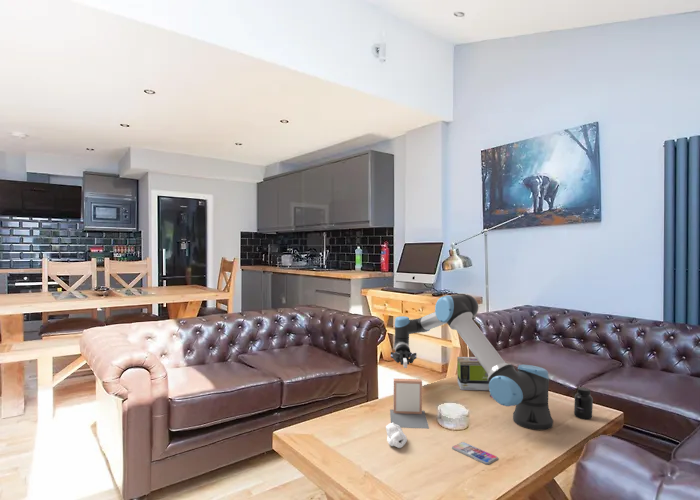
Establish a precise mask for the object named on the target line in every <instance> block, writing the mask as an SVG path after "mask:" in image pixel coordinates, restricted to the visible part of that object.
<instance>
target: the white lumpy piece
mask: <svg viewBox="0 0 700 500" xmlns="http://www.w3.org/2000/svg"><path fill="white" fill-rule="evenodd" d="M385 430H386V431H385V432H386V435H387V437H386V442H387V443H388V445H389V446H390V447H396V448H398V449H401V448H403V447H404V446H405V445H406V443H407V442H408V438H407V434H405V433H404V432H403V428H401V427H400V426H399V425H396V424H394V423H393V422H392V423H391V422H390V423H388V424H387V425H385Z"/></svg>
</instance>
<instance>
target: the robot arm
mask: <svg viewBox="0 0 700 500" xmlns="http://www.w3.org/2000/svg"><path fill="white" fill-rule="evenodd" d="M478 303H479V302H478V301H477V299H476V298H475V297H474V296H472V295H470V294H463V293H462V294H454V295H453V294H452V295H448V294H447V295H444V296H441V297H439V298H438V299H437V301H436V303H435V306H434V308H435V309H434V312H432V313H429V314H427V315H424V316H422V317H419V318H413V319H410V318H409V317H408V316H402V315H401V316H397V317H395V318H394V319H395V320H394V342H393V343H394V345H393V346H394V351H395V352H393V351H391V352H390V358H391V359H393V360H394V362H396V363H397V364H400V365H402V366H403V368H404V369H407V368H408V365H410V364H413V363H414V360H416V359H417V352H413V353H412V351H411V350H410V349H411V348H410V345H409V344H410V335H412V334H419V333H427V332H429V331H431V330H432V329H435V328H438V327H441V326H443V325H446V324H447V325H448V327H449V328H450V329H451V330H454V331H455V330H456V332H457V334H459V336H460V338H461V339H462V340H463V342H464V343H465V344H466V345H467V347H468V348H469V350H470V352H471V353H472V354H473V355H474V356H473V357H476V358H477V360H478V361H479V363H480V364H481V365H482V367H483V368H484V369H485V371H486V372H487V374H488V381H489V388H490V390H488V391H489V395H490V394H491V396H492V397H493V398H492V397H491V396H490V397H491V398H492V399H493V400H494V401H495V402H496V403H498V404H499V405H501V406H505V407H513V406H515V408H514V411H513V412H512V420H513V422H514V423H515V424H516V425H519V426H520V427H521V428H525V429H530V430H536V431H545V430H550V429H552V428H553V426H554V425H553V424H554V419H553V417H552V415H551V410H550V408H549V388H550V387H549V384H550V383H549V381H550V378H549V371H548V370H547V369H546V368H543V367H541V366H537V365H536V366H535V365H532V364H531V365H530V364H518V366H517V369H516V368H515V367H514V365H512V363H507V362H506V361H505V360H504V359H503V357H502V356H501V355H500V354H499V352H498V351H497V350H496V348H495V347H494V346H493V345H492V343H491V342H490V341H489V339H488V338H487V336H486V335H485V334H484V333H483V331H482V330H481V328H479V326H478V325H477V324H476V322H475V321H474V319H473V318H474V317H475V316H476V315H477V314H478V311H479V304H478Z"/></svg>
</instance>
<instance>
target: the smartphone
mask: <svg viewBox="0 0 700 500" xmlns="http://www.w3.org/2000/svg"><path fill="white" fill-rule="evenodd" d="M451 449H452V451H455V452H458V453H460V454H462V455H463V456H466V457H467V458H468V457H469V458H471V459H472V460H475V461H477V462H478V463H481V464H482V465H486V466H488V465H491V464H493V463H494V462H496V461H498V459H499V457H498V456H497V455H495V454H492V453H490V452H487V451H485V450H483V449H481V448H479V447H476V446H473V445H472V444H469V443H467V442H465V441H461V442H459V443H457V444H455V445H452V446H451Z"/></svg>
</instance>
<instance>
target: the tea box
mask: <svg viewBox="0 0 700 500" xmlns="http://www.w3.org/2000/svg"><path fill="white" fill-rule="evenodd" d="M456 359H457V362H456V363H457V364H456V366H457V368H456V370H457V373H456V375H457V377H456V378H457V379H456V380H457V385H458V387H459V390H461V391H464V390H465V391H489V390H490V388H489V381H488V374H487V372H486V371H485V369H484V368H483V367H482V365H481V364H480V363H479V361H478V360H477V358H476V357H475V356H457V358H456Z"/></svg>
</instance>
